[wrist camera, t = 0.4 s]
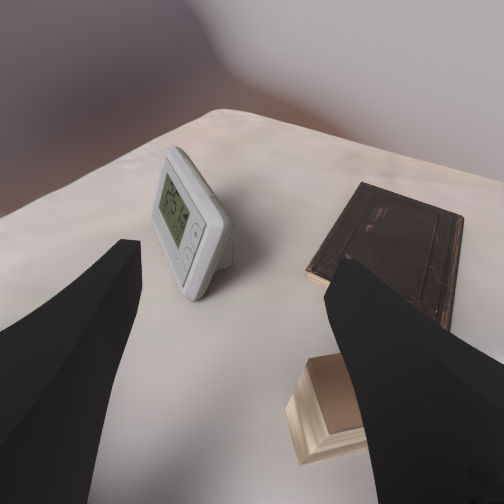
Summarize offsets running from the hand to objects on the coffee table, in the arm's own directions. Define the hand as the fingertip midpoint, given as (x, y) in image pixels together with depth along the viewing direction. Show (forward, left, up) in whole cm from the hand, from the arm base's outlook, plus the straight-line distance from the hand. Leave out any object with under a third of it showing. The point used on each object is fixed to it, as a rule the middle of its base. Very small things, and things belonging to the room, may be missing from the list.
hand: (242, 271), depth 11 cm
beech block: (-2, -8, -19) cm, 21 cm away
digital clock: (+20, +2, -20) cm, 28 cm away
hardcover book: (+17, -25, -20) cm, 36 cm away
